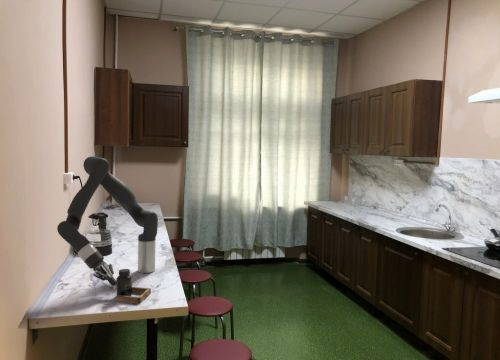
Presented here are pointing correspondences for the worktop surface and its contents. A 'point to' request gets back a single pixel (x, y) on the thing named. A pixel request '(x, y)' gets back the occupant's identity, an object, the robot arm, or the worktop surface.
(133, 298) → the walnut frame
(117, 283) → the supplement bottle
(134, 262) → the worktop surface
